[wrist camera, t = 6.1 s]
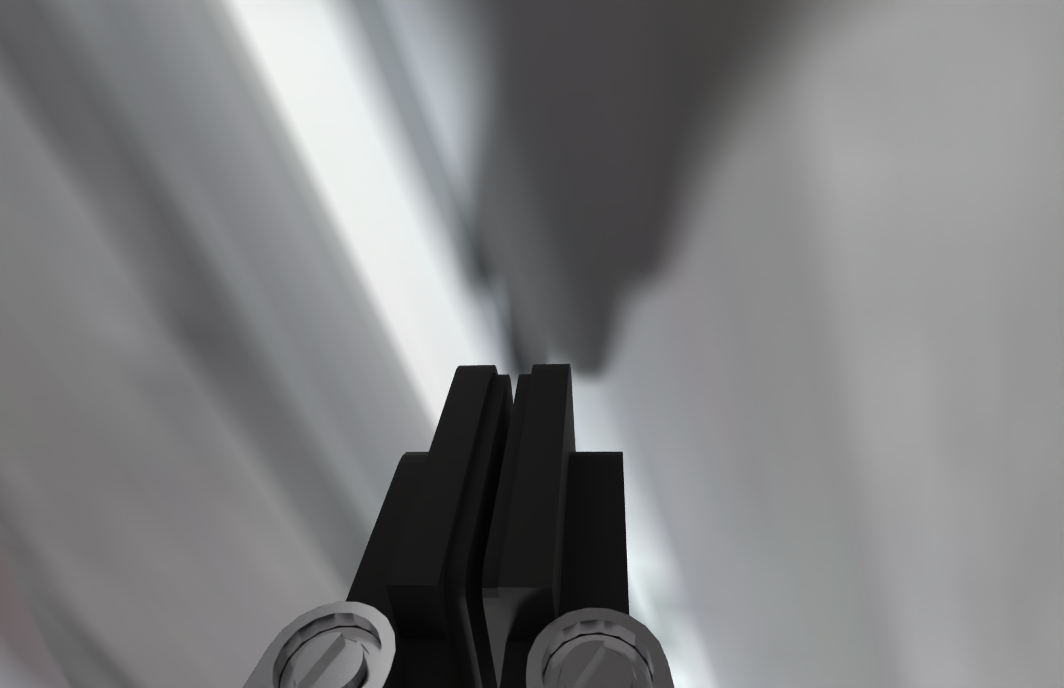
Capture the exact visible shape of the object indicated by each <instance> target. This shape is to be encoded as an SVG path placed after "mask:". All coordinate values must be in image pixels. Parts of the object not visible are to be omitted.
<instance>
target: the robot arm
mask: <svg viewBox="0 0 1064 688" xmlns="http://www.w3.org/2000/svg"><path fill="white" fill-rule="evenodd" d="M243 688H674V684H673V680H672V676H671V672H670V668H669V665H668V661H667V658H666V656H665V654H664V652H663V649H662V647H661V645H660V642H659V641H658V640H657V639H656V637H655V636H654V635H653V634H652V633H651V632H650V630H649V629H648V628H647V627H646V626H645V625H643V624H642V623H640V622H639V621H637V620H636V619H634V618H633V617H631V616H629V599H628V574H627V548H626V523H625V497H624V472H623V452H576V450H575V432H574V415H573V397H572V379H571V367H570V364H535V365H533V368H532V374H520V375H519V378H518V383H517V388H516V393H515V399H514V404H513V396H512V387H511V380H510V376H509V374H508V375H498V372H497V369H496V366H495V365H473V366H458V367H457V369H456V372H455V375H454V378H453V381H452V384H451V387H450V390H449V393H448V396H447V399H446V402H445V405H444V408H443V411H442V414H441V417H440V420H439V423H438V426H437V429H436V432H435V435H434V438H433V441H432V444H431V447H430V450H429V452H406V453H405V454H404V455H403V456H402V458H401V460H400V461H399V464H398V466H397V469H396V471H395V474H394V477H393V479H392V482H391V484H390V487H389V490H388V492H387V495H386V498H385V500H384V503H383V505H382V508H381V511H380V513H379V516H378V518H377V521H376V524H375V526H374V529H373V532H372V534H371V537H370V539H369V542H368V545H367V547H366V550H365V552H364V555H363V558H362V560H361V563H360V566H359V568H358V571H357V573H356V576H355V579H354V581H353V584H352V586H351V589H350V592H349V594H348V597H347V599H346V602H335V603H331V604H327V605H323V606H319V607H317V608H315V609H313V610H311V611H309V612H307V613H305V614H303V615H301V616H299V617H298V618H296V619H295V620H294V621H293V622H291V623H290V624H289V625H288V626H286V627H285V628H284V629H283V630H282V631H281V632H280V633H279V634H278V636H277V637H276V638H275V639H274V640H273V642H272V643H271V644H270V645H269V647H268V648H267V650H266V651H265V653H264V654H263V656H262V658H261V659H260V661H259V662H258V664H257V666H256V667H255V669H254V670H253V672H252V674H251V675H250V677H249V678H248V680H247V682H246V683H245V685H244V686H243Z"/></svg>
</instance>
